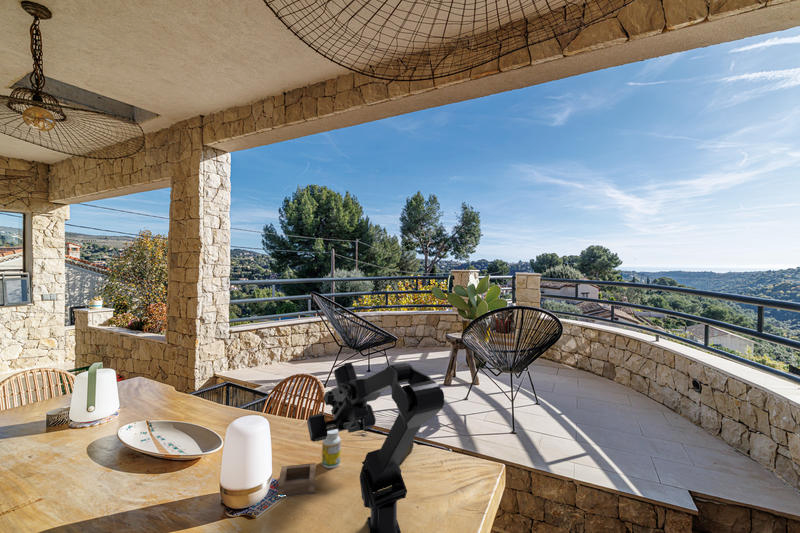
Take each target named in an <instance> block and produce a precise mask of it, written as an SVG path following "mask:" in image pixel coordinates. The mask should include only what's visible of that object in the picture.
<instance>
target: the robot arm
mask: <svg viewBox="0 0 800 533" xmlns="http://www.w3.org/2000/svg"><path fill="white" fill-rule="evenodd" d="M333 375H334V379H335V381H336V382H335V383H336V385H337V388H332V389H331V390H327V391H326V392H325V393H324V396H323V402H324V403H325V406H330V407H331V410H330V412H331V415H332V416H333V418H332V420H328V421H327V420H326V419H325V415H324V413H318V414H312V415H309V416H308V418H307V421H306V425H307V429H308V433H309V434H308V435H309V438H310V441H311V442H313V443H314V442H320V441H323V440H324V439H326V437H327V431H331V430H336V429H338V432H339V433H340V432H343V431H347V433H348V434H350V433H355V432H360V431H365V430H368V429H370V428H371V429H372V428H373V427H374V426H375V425H376V422H377V419H376V415H375V413H374V410H373V407H372V405H371V404H369V403H368V402H373V401H376V400H378V398H379V397H381V395H382V392H385V391H387V390H389V389H391V399H392V401H393V402H394V403H395V404H396V407H397V408H396V409H397V410H398V414H397V417H396V419H395V420H394V423H393V424H392V426H391V428H390V430H389V432H388V434H387V436H386V438H385V440H384V441H383V444H382V445H381V448H379V449H376V450H371V451H368V452H367V453H366V455H365V458H364V461H362V462H361V464H362V467H361V470H360V472H359V473H360V474H359V482H360V484H359V485H360V491H361V499H362V500H363V507H365V508H368V509H370V516H368V517H367V519H366V520H367V527H368V531H369V533H402V531H401V528H400V525H399V522H398V516H397V513H398V512H397V511H398V509H397V508H398V501H399V500H401V499H402V500H403V499H406V497H407V494H408V490H407V487H406V486H407V485H406V484H405V481H404V479H403V478H404V477H403V475H402V469H401V467H400V465H399V463H400V461H401V459H402V458H403V456H404V454H405V452H406V451H407V449H408V447H409V446H410V444H411V442H412V440H413V439H414V440H415V437H416V436H417V433H418V432H419V430H420V428H421V427H422V425H423V424H425V423H426V422H428V421H430V420H432V419H433V418H434V417H436V416H437V415H438V414H439V413H440V412H441V410H443V408H444V405H445V394H444V391H443V389H442V387H441V386H440V385H439V384H438V383H437V382H436V381H435V380H434V379H433V378H432V377H430V375H428V374H426V373H423V372H421V371H419V370H417V369H415V368H414V367H413V366H412V365H411V364H410V363H407V362H404V363H403V362H402V363H395V364H394V363H393V364H390V365H388V366H387V367H385V368H384V369H383V370H381V371H378V372H377V373H374V374H372V375H371V376H368V377H363V378H361V377H360V378H358V375H357V372H356V370H355V366H354V365H353V362H344V364H343V365H341V366H339V367H337V368H335V369H334V370H333ZM406 383H408V384H406ZM402 384H406V385H403V386H401V385H402ZM400 464H401V463H400Z"/></svg>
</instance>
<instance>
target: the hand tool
mask: <svg viewBox="0 0 800 533" xmlns="http://www.w3.org/2000/svg"><path fill="white" fill-rule="evenodd" d="M414 440H415V438H414V439H413V440H412V442H411V444H410V446H409V447H408V449H407V451H406V452H405V454H404V456H403V458H402V459H401V461H400V463H399V466H400V465H401V463H402V462H403V461H404V460H405V459H406V457H407V456H408V455H410V454H412V451H413V448H414Z"/></svg>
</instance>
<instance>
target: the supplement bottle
mask: <svg viewBox="0 0 800 533" xmlns="http://www.w3.org/2000/svg"><path fill="white" fill-rule="evenodd" d="M339 435H340V431H339V432H338V429H336V430H331V431H327V437H326V439H324V440H322V449H321V451H322V452H321V453H322V454H321V464H322V467H323V468H326V469H334V468H337V467H339V466H340V464H341V459H342V458H341V457H342V455H341V454H342V453H341V451H342V448H341V447H342V439H341V437H340V436H339Z"/></svg>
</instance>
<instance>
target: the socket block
mask: <svg viewBox="0 0 800 533" xmlns="http://www.w3.org/2000/svg"><path fill="white" fill-rule="evenodd" d="M279 473H280V474H279V478H278V483H277V496H278V495H286V496H287V497H289V498H290V497H296V496H297V497H298V496H305V495H313V494H315V493H316V462H314V463H313V462H312V463H302V464H301V463H300V464H293V465H292V464H291V465H282V466H281V469H280V472H279ZM277 496H276V497H277ZM287 497H286V498H287Z"/></svg>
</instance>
